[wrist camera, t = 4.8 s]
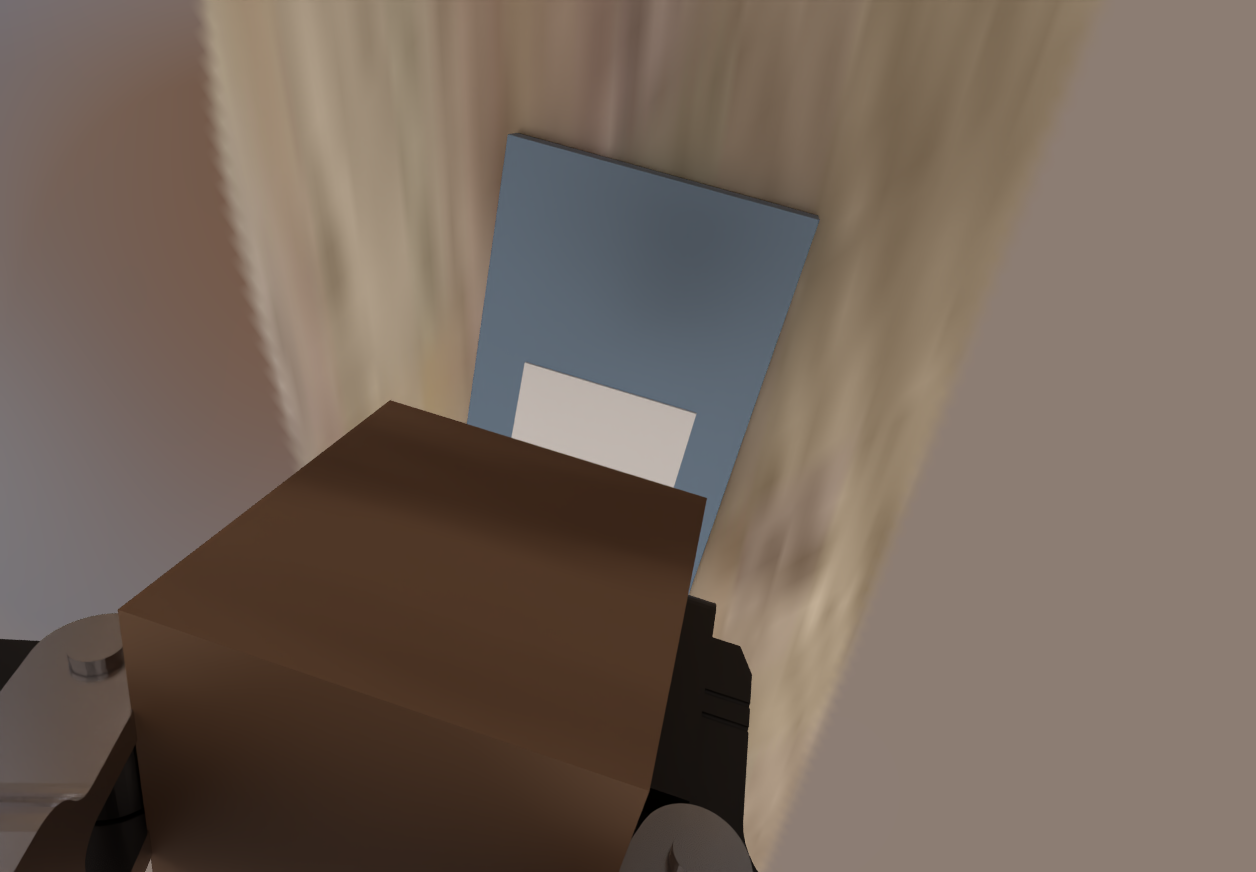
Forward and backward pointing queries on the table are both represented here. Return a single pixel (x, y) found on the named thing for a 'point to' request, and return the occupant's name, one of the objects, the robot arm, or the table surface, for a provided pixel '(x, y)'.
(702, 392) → the board
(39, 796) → the robot arm
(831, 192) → the table surface
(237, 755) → the walnut block
